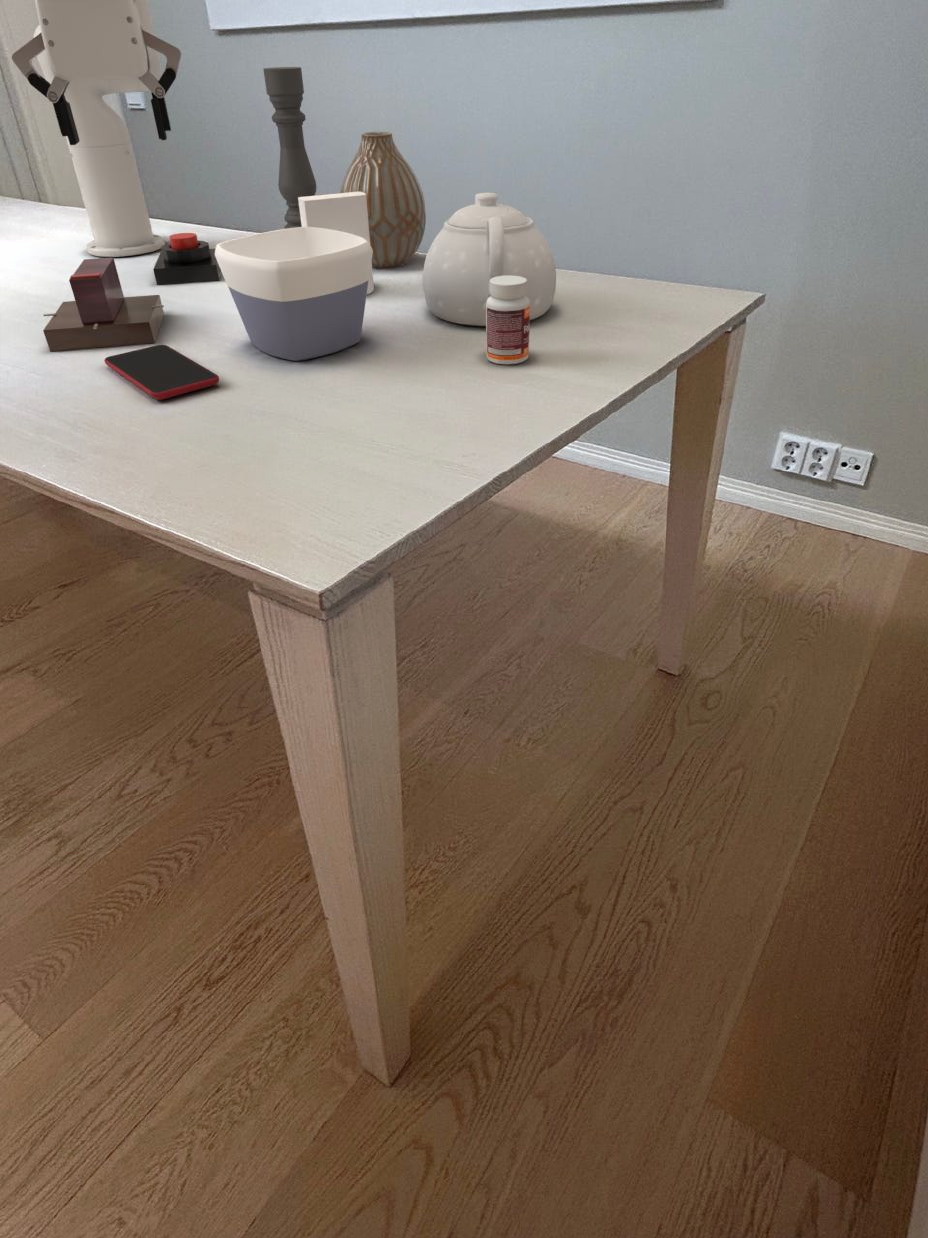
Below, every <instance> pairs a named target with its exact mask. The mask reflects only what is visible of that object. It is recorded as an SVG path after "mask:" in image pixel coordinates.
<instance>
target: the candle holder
mask: <svg viewBox="0 0 928 1238" xmlns="http://www.w3.org/2000/svg"><path fill="white" fill-rule="evenodd" d="M262 69H263V76H264V82H265V91H266V95H267V96H268V97H269V99H268V100H269V102H270V103H271V104H272V107H273V108H274V110H275V111H274V112H273V114H272V115H271V121H272V122H273V123H274V124H275V126H276V127H277V133H278V140H279V141H278V142H279V149H280V150H279V152H280V153H279V168H278V181H277V182H278V183H277V184H278V190H279V193H280V195H281V197H282V199H284V200H285V205H286V206H287V207H288V208H287V210H286V213H285V214H284V221H285V222H286V225H284V226H283V229H288V228H297V227H302V225H301V217H300V209H299V201H298V197H306V196H316V193H317V188H318V187H317V181H316V178H315V175H314V171H313V168H312V165H311V163H310V159H309V156H308V153H307V149H306V147H305V146H306V145H305V138H304V132H303V131H304V130H303V125H304V122H305V121H306V120H307V119H306V115H305V113H304V112H303V111H301V107H302V103H303V100H304V97H303V95H304V94H305V90H304V81H303V71H302V67H301V66H280V67H279V66H276V67H275V66H274V67H265V68H262Z"/></svg>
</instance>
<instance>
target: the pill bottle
mask: <svg viewBox="0 0 928 1238" xmlns="http://www.w3.org/2000/svg"><path fill="white" fill-rule="evenodd" d="M489 291H490V295H491V297H489V298H488V299H487V302H486V326H485V336H486V339H485V340H486V344H485V345H486V347H485V352H486V355H485V356H486V359H487V360H488V361H489V362H490V363H494V364H497V365H498V364H499V365H517V364H521V363H523V362H525V361H526V360H528V358H529V353H530V351H529V349H530V321H531V320H530V301H529V299H528V298H527V297H526V296H525V295H526V294H527V279H526V278H524V277H520V276H511V275H506V276H497V277H493V278H491V279H490V287H489Z"/></svg>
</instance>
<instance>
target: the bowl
mask: <svg viewBox="0 0 928 1238" xmlns="http://www.w3.org/2000/svg"><path fill="white" fill-rule="evenodd" d="M215 248H216V249H215V254H214V255H215V257H216V259H217V262H218V264H219V267H220V269H221V274H222V277H223V279H224V281H225V283H226V285H227V287H228V290H229V292H230V294H231V297H232V299H233V301H234V302H233V303H234V305H235V307H236V309H237V311H238V315H239V316H240V318H241V321H242V323H243V326H244V328H245V331H246V334H247V336H248V338H249V341H250V343H251V344H252V345H253V346H254V347H255V348H257V349H258V350H260V351H261V352H263V353H265V354H267V355H269V356H273V357H276V358H279V359H284V360H286V361H287V360H288V361H295V362H298V361H299V362H301V361H306V360H311V359H315V358H321V357H323V356H327V355H331V354H332V355H333V354H335V353H337V352H341V351H343V350H345V349H348V348H351V347H352V346H354V345H356V344H357V343H359V342H360V341H361V338H362V333H363V324H364V316H365V311H366V310H365V309H366V303H367V296H368V294H367V288H368V280H369V276H370V268H371V261H372V253H373V250H372V248H371V246H370V244H369V243H368V241H367V240H365V239H364V238H362V237H359V236H356V235H353V234H349V233H345V232H341V231H336V230H330V229H324V228H316V227H297V228H288V229H284V228H281V229H276V230H270V231H264V232H258V233H254V234H250V235H249V234H248V235H244V236H240V237H235V238H233V239H228V240H226V241H222V242H219V243H217V244H216V246H215Z"/></svg>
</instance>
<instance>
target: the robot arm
mask: <svg viewBox="0 0 928 1238" xmlns="http://www.w3.org/2000/svg"><path fill="white" fill-rule="evenodd" d="M34 3H35V10H36V14H37V18H38V23H39V24H38V25H37V27H36V28H35V30H34V32H33V38H32V39H30V40H29V41H28V42H27V43H25V44H24V45H22V47H20V48H19V49H17V50H16V51H15V52H13V54H11V60H12V62H13V64H15V66H16V67H17V69H18V70H19V71H20V73H21V74H22V75H23V76H24V77H25V78H26V80H27V81H28V83H29V84H30V86H32V87H33V88H34V89H36V91H38V92H39V93H41V94H42V95H43V96H44V97H45V98H46V99H47V100H48V101H49V102H50V103H52V105H53V109H54V113H55V117H56V121H57V124H58V127H59V131H60V134H61V137H65V140H66V144H67V147H68V150H69V154H70V158H71V161H72V165H73V167H74V168H73V169H74V172H75V176H76V178H77V183H78V186H79V189H80V193H81V198H82V202H83V205H84V208H85V212H86V215H87V218H88V223H89V226H90V229H91V232H92V237H93V239H92V240H91V241H89V242H88V243H86V244H85V245H86V246H85V248H86V251H87V253H88V254H90V255H92V256H95V257H101V258H112V257H113V258H116V257H117V258H119V257H129V256H131V257H132V256H138V255H144V254H149V253H152V252H155V251H158V250H161V247H162V245H165V244H166V242H165V239H164V237H163V236H162V235H159V234H154V232H153V228H152V224H151V220H150V216H149V212H148V207H147V203H146V199H145V195H144V190H143V187H142V182H141V178H140V174H139V169H138V165H137V159H136V156H135V151H134V148H133V143H132V140H131V139H132V138H131V135H130V132H129V129H128V126H127V124H126V123H125V121H124V120H123V118H122V117H121V116H120V115H119V114H118V113H117V112H116V111H115V110H114V109H113V108H111V106H110V105H108V104H107V103H106V102H105V101H104V99H103V96H106V95H112V94H113V95H114V94H130V93H131V94H133V93H145V92H146V93H147V92H150V93H151V97H152V98H151V99H150V103H151V108H152V113H153V117H154V122H155V126H156V131H157V135H158V140H161V141H167V139H168V137H167V136H168V135H167V132H171V131H172V127H171V122H170V118H169V112H168V107H167V103H166V99H165V98H166V97H165V96H166V94H168V92H169V90H170V88H171V87H172V85H173V83H174V82H175V80H176V79H177V76H178V71H179V67H180V62H181V58H182V51H181V49H180V48H179V47H177V46H175V45H173V44H171V43H169V42H168V41H166V40H164V39H161V38H160V37H158V36H156V32H155V27H154V22H153V18H152V13H151V9H150V5H149V1H148V0H34ZM161 54H162V55H163V56H165V58H166V65H165V68H164V71H163V68H162V60H161ZM35 58H36V59H37V61H38V64H39V67H40V69H41V72H42V74H43V76H44V77H43V76H42V75H40V74H39V73H38V71H37V70H36V68H35V66H34V65H33V60H34V59H35Z"/></svg>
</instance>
